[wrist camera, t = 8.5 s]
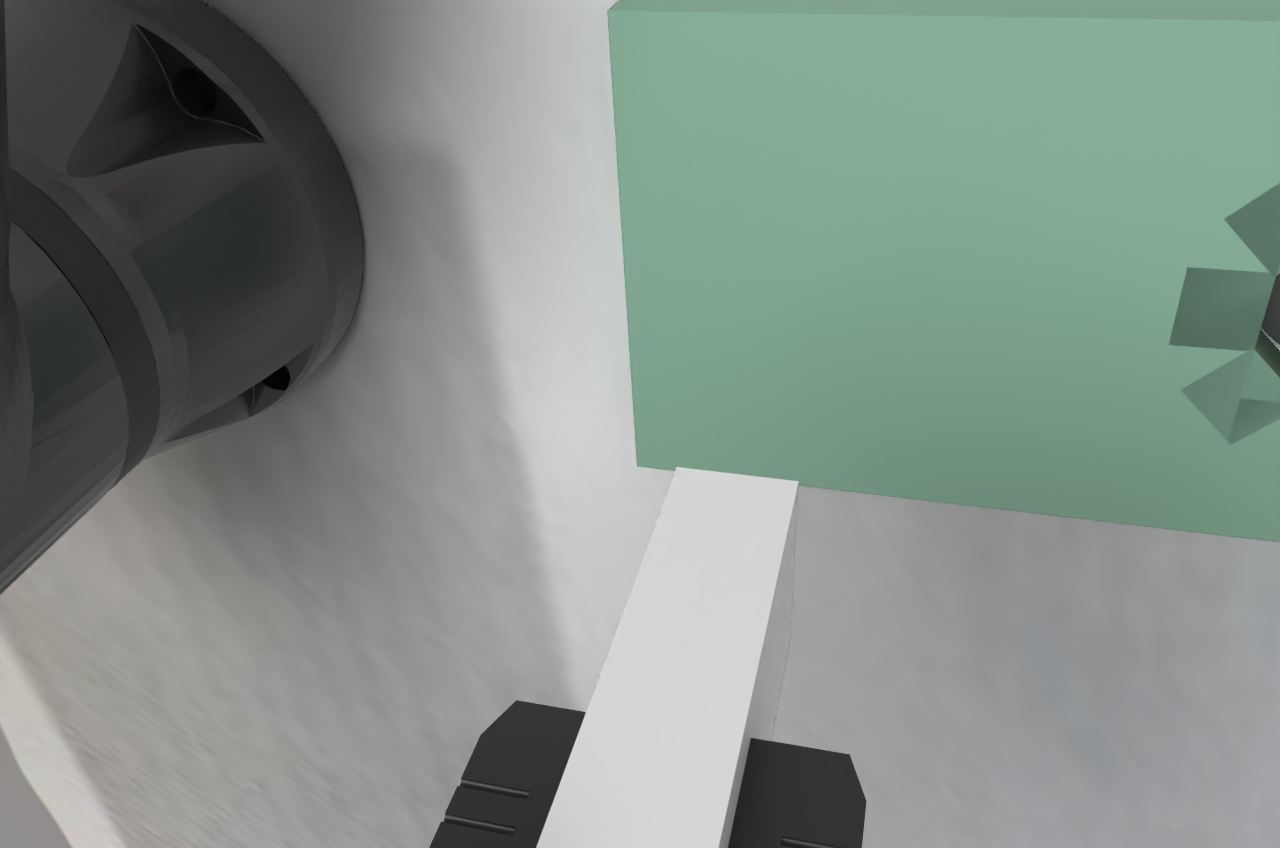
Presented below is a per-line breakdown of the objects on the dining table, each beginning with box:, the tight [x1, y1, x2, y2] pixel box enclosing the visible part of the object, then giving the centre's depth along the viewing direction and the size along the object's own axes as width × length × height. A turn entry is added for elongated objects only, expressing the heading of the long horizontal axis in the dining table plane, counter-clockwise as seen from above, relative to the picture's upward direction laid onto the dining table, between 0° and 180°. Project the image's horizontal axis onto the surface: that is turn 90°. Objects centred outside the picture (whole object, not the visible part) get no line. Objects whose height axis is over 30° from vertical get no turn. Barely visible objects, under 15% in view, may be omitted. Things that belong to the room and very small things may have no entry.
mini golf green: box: [608, 0, 1280, 542], centre depth 26 cm, size 24×14×12 cm, turn 93°
